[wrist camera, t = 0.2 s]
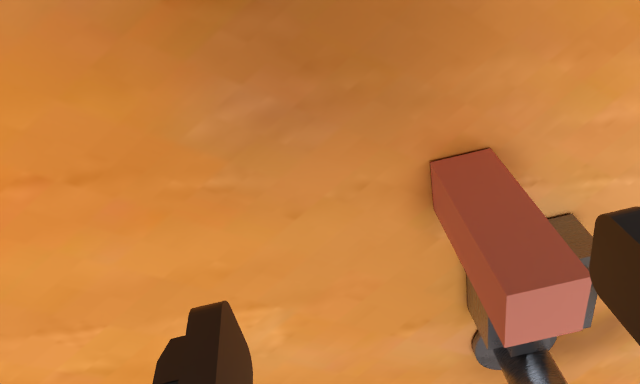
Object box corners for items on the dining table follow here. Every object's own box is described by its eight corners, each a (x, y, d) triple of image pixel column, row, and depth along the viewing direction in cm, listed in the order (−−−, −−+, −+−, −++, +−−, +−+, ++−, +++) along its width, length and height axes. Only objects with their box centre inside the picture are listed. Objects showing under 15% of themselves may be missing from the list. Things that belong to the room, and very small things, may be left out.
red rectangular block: (430, 162, 30) (506, 296, 21) (490, 148, 30) (593, 276, 21) (433, 209, 32) (504, 347, 23) (489, 196, 32) (582, 330, 23)
